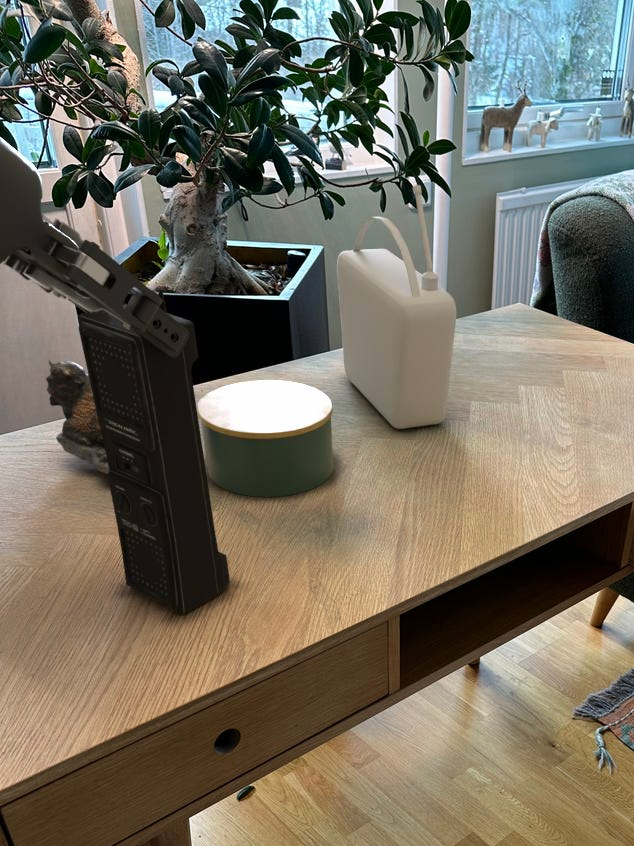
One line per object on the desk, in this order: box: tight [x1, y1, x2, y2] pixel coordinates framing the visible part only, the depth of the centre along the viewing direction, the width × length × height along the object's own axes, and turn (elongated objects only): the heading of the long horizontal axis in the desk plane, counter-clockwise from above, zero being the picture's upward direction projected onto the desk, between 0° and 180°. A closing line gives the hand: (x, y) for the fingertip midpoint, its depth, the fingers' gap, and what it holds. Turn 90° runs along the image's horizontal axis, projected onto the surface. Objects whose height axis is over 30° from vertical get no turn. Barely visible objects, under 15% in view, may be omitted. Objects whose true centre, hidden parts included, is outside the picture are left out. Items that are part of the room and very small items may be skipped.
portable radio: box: [77, 286, 231, 614], centre depth 68 cm, size 8×6×25 cm
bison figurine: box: [45, 359, 110, 475], centre depth 88 cm, size 12×7×10 cm, turn 59°
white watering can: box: [336, 184, 457, 430], centre depth 102 cm, size 22×8×25 cm, turn 26°
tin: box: [196, 379, 334, 498], centre depth 91 cm, size 13×13×7 cm
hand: (148, 330), depth 63 cm, fingers closed on portable radio, 7 cm apart
